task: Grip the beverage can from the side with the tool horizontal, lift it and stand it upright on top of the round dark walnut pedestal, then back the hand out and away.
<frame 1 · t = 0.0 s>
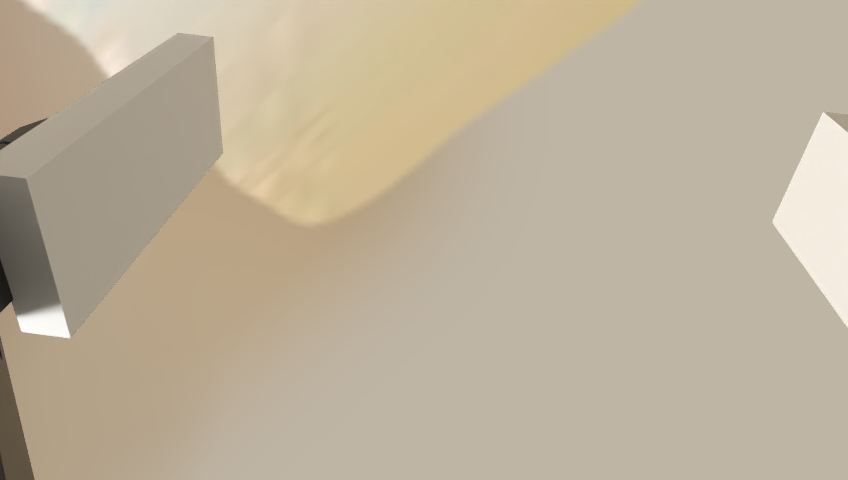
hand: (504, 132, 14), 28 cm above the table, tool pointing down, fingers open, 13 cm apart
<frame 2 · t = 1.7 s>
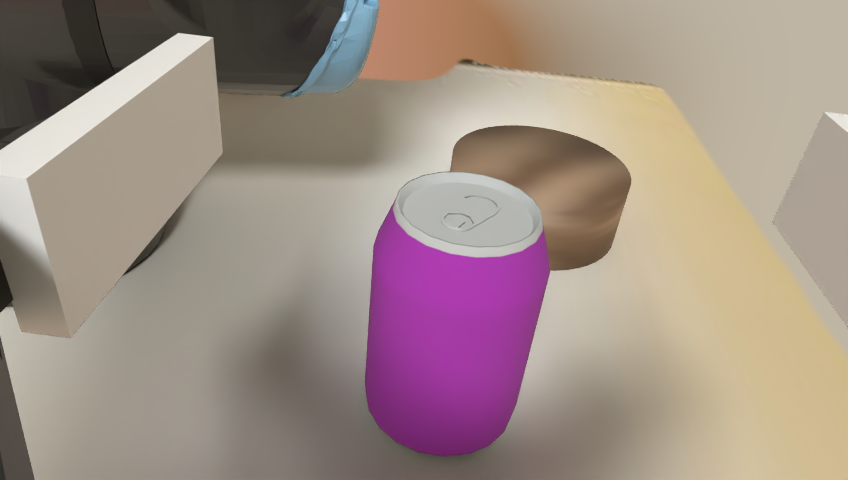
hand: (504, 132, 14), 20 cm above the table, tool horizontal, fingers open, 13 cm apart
beverage can: (437, 407, 33), on the table
walnut pedestal: (528, 220, 49), on the table
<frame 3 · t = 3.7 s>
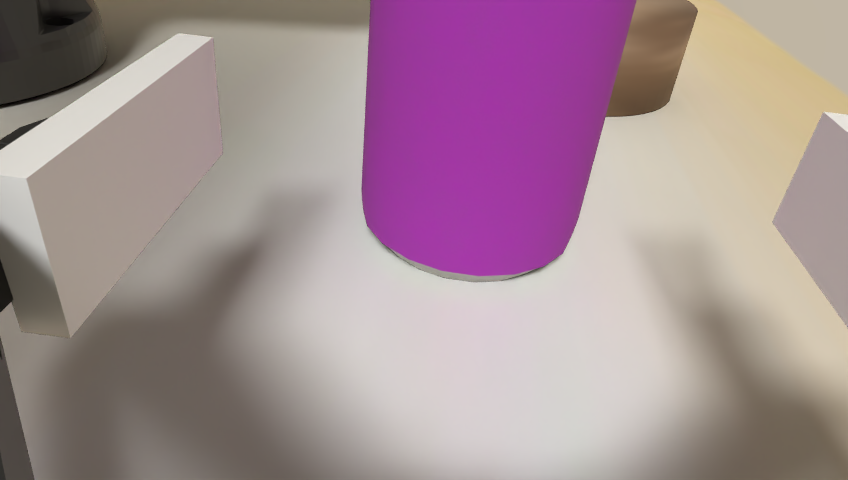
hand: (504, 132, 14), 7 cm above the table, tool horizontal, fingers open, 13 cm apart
beverage can: (463, 236, 24), on the table
walnut pedestal: (563, 75, 40), on the table
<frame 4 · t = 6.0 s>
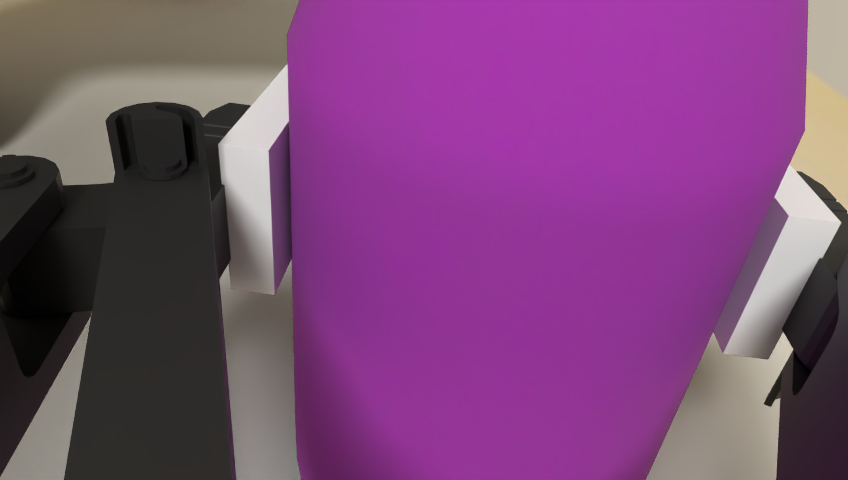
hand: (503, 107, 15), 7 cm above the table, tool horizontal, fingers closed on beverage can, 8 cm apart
beverage can: (457, 465, 15), on the table, touching gripper
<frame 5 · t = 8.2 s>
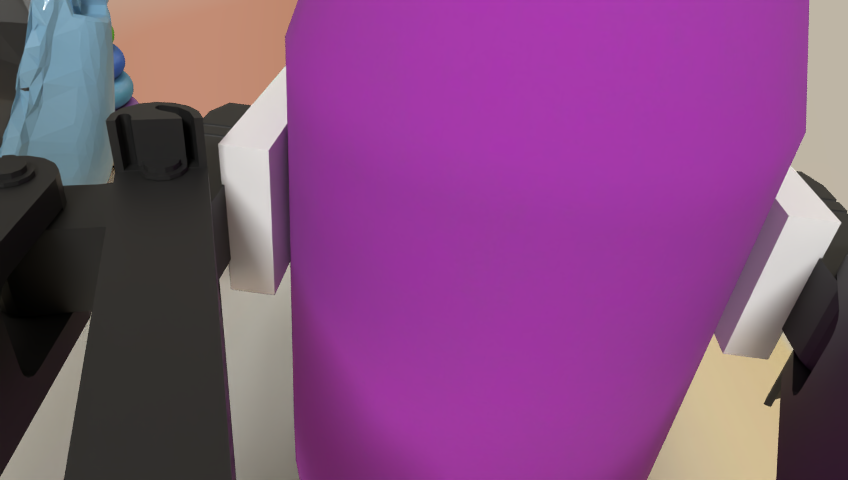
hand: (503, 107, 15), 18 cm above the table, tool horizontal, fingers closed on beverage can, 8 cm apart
stacking toy: (95, 152, 49), on the table
beverage can: (457, 467, 15), point 11 cm above the table, touching gripper
when the fingers open (13 cm above the table, at t = 10.7 s): beverage can drops 1 cm, resting on walnut pedestal.
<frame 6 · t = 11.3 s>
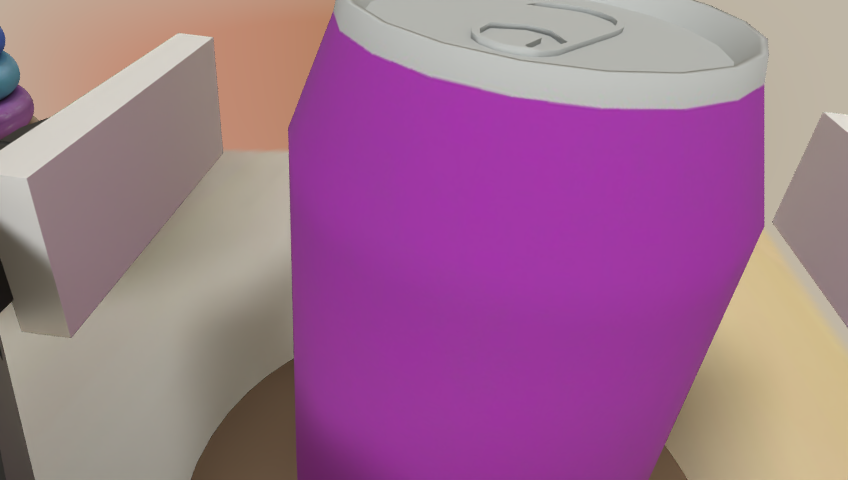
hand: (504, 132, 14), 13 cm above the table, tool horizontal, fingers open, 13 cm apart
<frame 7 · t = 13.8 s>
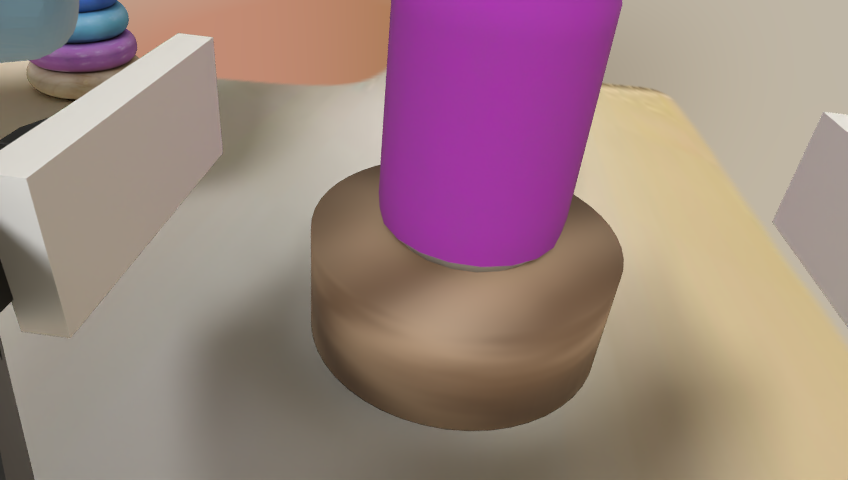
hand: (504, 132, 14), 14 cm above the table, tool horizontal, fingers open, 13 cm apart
stacking toy: (90, 86, 49), on the table
beverage can: (467, 232, 27), point 5 cm above the table, touching walnut pedestal
walnut pedestal: (453, 318, 30), on the table
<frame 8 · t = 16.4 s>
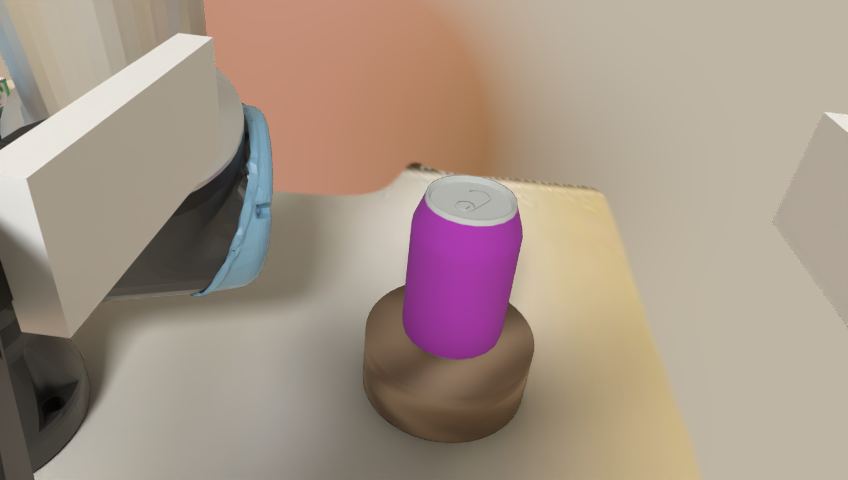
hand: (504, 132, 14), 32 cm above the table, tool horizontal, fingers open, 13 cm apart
beverage can: (450, 333, 49), point 5 cm above the table, touching walnut pedestal
walnut pedestal: (443, 377, 52), on the table
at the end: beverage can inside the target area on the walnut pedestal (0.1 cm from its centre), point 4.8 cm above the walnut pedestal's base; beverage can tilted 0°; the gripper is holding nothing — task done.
